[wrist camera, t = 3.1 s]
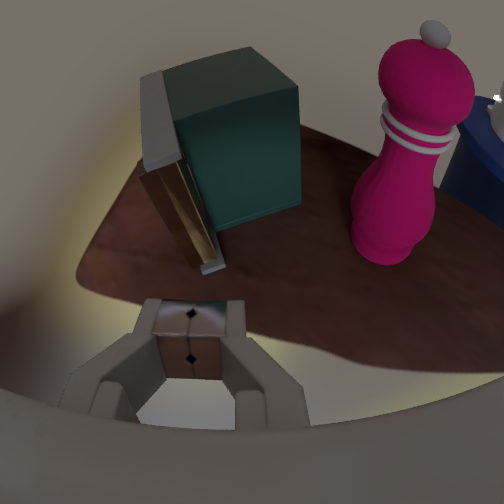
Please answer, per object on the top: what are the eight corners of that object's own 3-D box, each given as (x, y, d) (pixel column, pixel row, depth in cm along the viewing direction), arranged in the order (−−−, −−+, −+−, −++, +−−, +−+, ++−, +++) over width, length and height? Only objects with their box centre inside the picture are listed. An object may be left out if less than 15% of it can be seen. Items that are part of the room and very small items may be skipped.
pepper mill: (405, 283, 23) (510, 65, 6) (332, 251, 26) (355, 12, 9) (423, 224, 26) (489, 34, 9) (359, 197, 29) (383, -2, 12)
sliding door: (202, 203, 30) (166, 109, 20) (218, 259, 26) (176, 160, 16) (178, 211, 30) (135, 121, 20) (192, 268, 26) (137, 175, 16)
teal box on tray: (264, 142, 35) (250, 44, 24) (319, 234, 27) (326, 109, 16) (177, 171, 34) (140, 77, 23) (203, 275, 26) (143, 165, 15)
